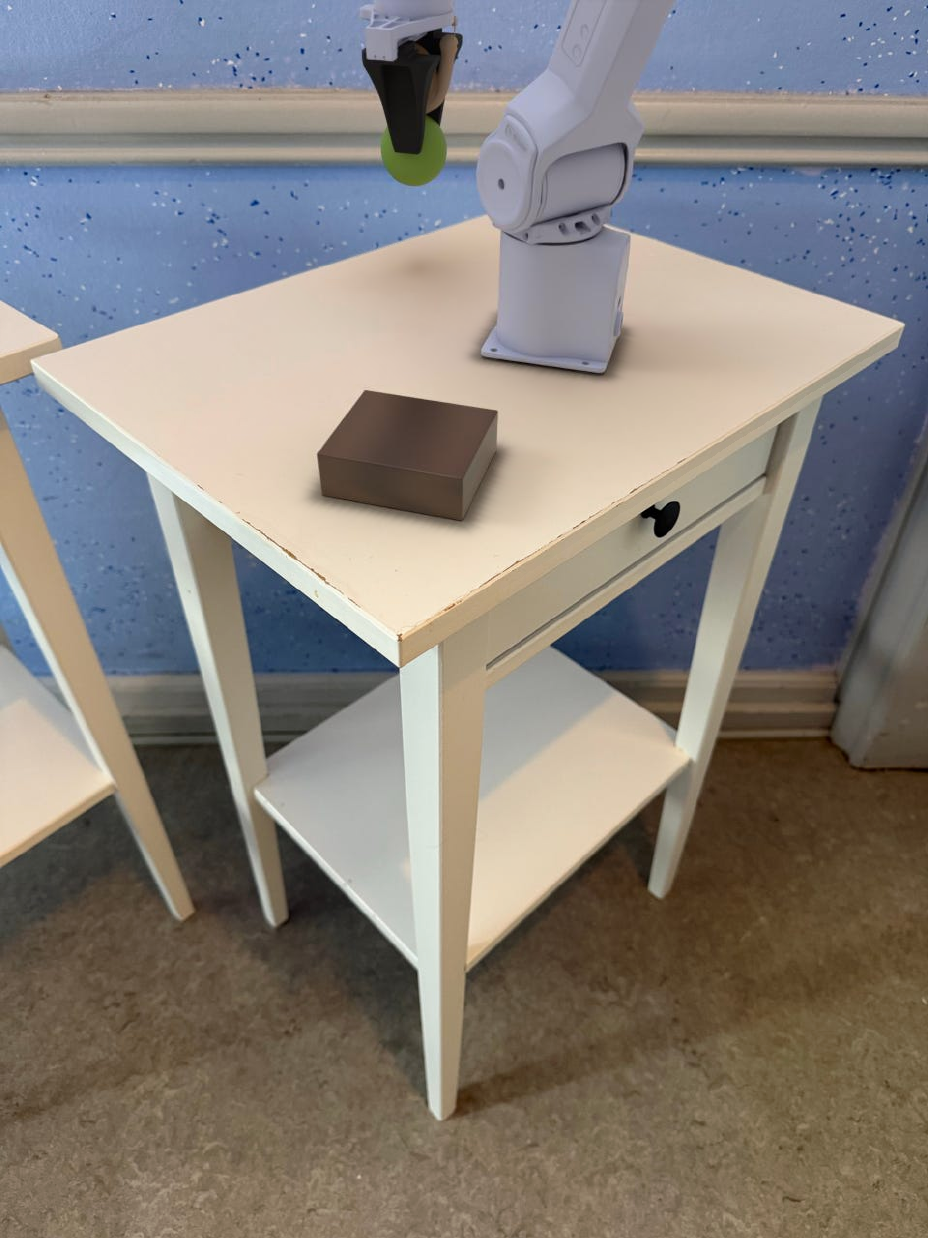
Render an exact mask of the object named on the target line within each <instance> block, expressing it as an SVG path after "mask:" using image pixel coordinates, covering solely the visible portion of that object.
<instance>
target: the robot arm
mask: <svg viewBox="0 0 928 1238" xmlns="http://www.w3.org/2000/svg"><path fill="white" fill-rule="evenodd" d="M675 3H676V0H571V1H570V4H569V6H568V10H567V12H566V14H565V17H564V20H563V23H562V25H561V29H560V31H559V34H558V36H557V39H556V42H555V45H554V48H553V51H552V53H551V56H550V59H549V62H548V65H547V67H546V69H545V70H544V71H543V72H542V73H540V74H539V76H538V77H536V78H535V79H534V80H533V81H532V82H530V83H529V84H528V85H527V86H526V87H525V88H523V90H521V91H520V92H519V93H518V94H517V95H516V96H515V97H514V98H512V99H511V100H510V101H509V102H508V103H507V104H506V106H505V109H504V111H503V114H502V116H501V120H500V122H499V124H498V126H497V127H496V129H495V130H494V131H493V132H491V133H490V134H489V135H488V136H487V137H486V139H484V141H483V144H482V145H481V147H480V150H479V153H478V158H477V164H476V172H475V173H476V175H475V180H476V189H477V194H478V197H479V200H480V203H481V205H482V208H483V210H484V211H485V213H486V215H487V217H489V219H490V221H491V226H493V227H494V228H495V229H498V230H500V235H499V262H498V289H497V313H496V314H497V315H496V317H497V319H496V323H495V326H493V329H492V330H491V332H490V334H489V335H488V337H487V339H486V340H485V342H484V344H483V346H482V347H481V351H480V355H481V356H483V357H486V358H492V359H498V360H506V361H512V362H513V361H514V362H521V363H526V364H534V365H539V366H540V365H541V366H548V367H554V368H562V369H566V370H567V369H569V370H575V371H581V372H589V373H594V374H595V373H596V374H602V373H605V371H606V370H607V367H608V365H609V362H610V360H611V357H612V354H613V351H614V348H615V345H616V344H617V340H618V338H619V337H620V335H621V332H622V327H623V321H624V311H623V307H624V299H625V292H626V286H627V285H626V284H627V277H628V268H629V263H630V253H631V234H629V233H627V232H623V231H618V230H615V229H612V228H610V227H607V226H605V225H607V224H610V222H611V214H612V207H614V206H615V205H617V204H619V202H621V201H622V200H623V198H624V197H625V195H626V194H627V192H628V190H629V187H630V185H631V182H632V178H633V174H634V163H635V155H636V151H637V147H638V145H639V142H640V140H641V139H642V136H643V134H644V132H645V130H646V129H645V128H646V127H645V124H644V121H643V119H642V117H641V114H640V112H639V109H638V107H637V105H636V104H635V103H634V101H633V100H632V96H633V94H634V92H635V89H636V87H637V85H638V83H639V81H640V79H641V76H642V74H643V72H644V70H645V68H646V65H647V64H648V61H649V59H650V57H651V55H652V53H653V50H654V48H655V46H656V44H657V41H658V39H659V38H660V35H661V33H662V31H663V29H664V27H665V24H666V22H667V20H668V18H669V16H670V15H671V11H672V10H673V7H674V5H675ZM454 16H455V0H373V4H371V3H369V4H365V5H363V6H361V7H359V19H360V20H368V21H370V23H369V25H367V26H366V27H364V31H365V32H364V33H365V48H363V49H362V50H361V62H362V67H364V69H365V71H366V73H367V74H368V76H369V77H370V80H371V82H372V84H373V86H374V88H375V91H376V94H377V95H378V98H379V102H380V104H381V107H382V111H383V114H384V119H385V122H386V127H387V126H388V130H389V134H390V138H391V142H392V145H393V149H394V152H396V153H406V154H416V155H417V154H419V153H420V152H421V150H422V146H423V140H424V133H425V121H426V115H427V116H429V117H430V118H432V119H433V120H434V121H435V122H436V123H437V124H438V125H439V127H440V128H441V122H442V119H443V118H442V117H443V112H444V107H445V106H444V105H445V101H446V97H445V98H444V100H443V102H442V103H441V104H440V105H439V106H438V107H437V108H436V109H434V110H432V111H431V112H429V113H427V114H426V109H427V102H428V96H429V91H430V87H431V82H432V79H433V76H434V73H435V70H436V71H437V73H438V68H439V64H440V59H441V50H440V41H441V39H442V37H443V36H444V35H446V34H452V35H454V32H448V31H443V29H444V28H447V27H450V26H452V24H453V23H454ZM455 37H456V38H457V40H458V44H457V52H456V54H455V59H454V64H455V63H456V61H457V58H458V55H459V54H460V51H461V49H462V47H463V42H464V35H463V34H462V33H458V32H455ZM415 43H416V44H418V45H420V46H422V47H423V48H424V49H425V50H426V51H427V52H428V53H429V54H430V55H429V54H419V50H418V49H415Z"/></svg>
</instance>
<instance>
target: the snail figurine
mask: <svg viewBox="0 0 928 1238" xmlns="http://www.w3.org/2000/svg"><path fill="white" fill-rule="evenodd" d="M458 20H459V19H458V17H457V16H456V15H454V23H453V24H452V25H451V27H453V30H454V32H453V33H454V35H452V34H446V35H444V36H443V37H442V39H441V41H440V50H441V59H440V64H439V68H438V73H437V71H436V70H435V73H434V76H433V79H432V82H431V87H430V91H429V96H428V102H427V109H426V114H427V113H429V112H431V111H432V110H434V109H436V108H437V107H438V106H439V105H440V104H441V103H442V102H443V100H444V98H445V99H446V96H447V94H448V92H449V88H450V85H451V81H452V76H453V71H454V67H455V63H454V59H455V54H456V52H457V44H458V40H457V38H456V37H455V33H456V27H457V26H458V22H459V21H458ZM415 49H418V50H419V54H429V53H428V52H427V51H426V50H425V49H424V48H423V47H422V46H420V45H418V44H416V43H415ZM429 55H430V54H429ZM447 155H448V147H447V140H446V137H445V134H444V132H443V130H442V128H441V126H440V127H439V125H438V124H437V123H436V122H435V121H434V120H433V119H432V118H430V117H429V116H427V115H426V121H425V133H424V140H423V146H422V150H421V152H420V153H419V154H417V155H416V154H406V153H396V152H394V149H393V145H392V142H391V138H390V134H389V130H388V126H387V125H386V127H385V128H384V131H383V133H382V136H381V141H380V157H381V160H382V164H383V166H384V168H385V169H386V171H387V173H388V174H389V175H390V176H391V177H392V179H394V180H395V181H397V182H398V183H400V184H402V185H405V186H409V187H421V186H424V185H427V184H429V183H431V182H432V181H434V180H435V179H436V178H437V177H438V176H439V175H440V173H441V172H442V170H443V168H444V166H445V163H446V160H447Z"/></svg>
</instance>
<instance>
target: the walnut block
mask: <svg viewBox="0 0 928 1238" xmlns="http://www.w3.org/2000/svg"><path fill="white" fill-rule="evenodd" d="M498 416H499V411H498V410H497V409H491V408H490V409H489V408H483V407H478V406H472V405H471V406H470V405H465V404H459V403H452V402H445V401H440V400H433V399H428V398H427V399H425V398H421V397H413V396H409V395H402V394H394V393H388V392H381V391H374V390H369V389H364V390H363V392H362V393H361V394H360V396H358V399H356V401H355V402H354V403H353V405H352V406H351V408H350V409H349V410H348V411H347V413H346V414H345V416H344V417H343V418H342V419H341V421H340V422H339V424H338V425H337V426H336V428H335V429H334V430H333V432H332V433H331V434H330V435H329V437H328V438H327V440H325V442H324V443H323V445H322V446H321V447H320V449H319V450H318V451H317V453H316V458H317V467H318V473H319V474H318V476H319V483H320V492H321V495H322V496H326V497H332V498H335V499H343V500H347V501H348V500H349V501H353V502H358V503H365V504H370V505H375V506H380V507H386V508H391V509H396V510H403V511H406V512H407V511H408V512H413V513H418V514H425V515H429V516H434V517H440V518H445V519H446V518H447V519H451V520H457V521H463V520H464V518H465V515H466V513H467V512H468V510H469V507H470V506H471V503H472V501H473V499H474V497H475V495H476V493H477V491H478V489H479V487H480V485H481V482H482V481H483V478H484V477H485V474H486V472H487V470H488V469H489V466H490V465H491V462H492V460H493V458H494V456H495V455H496V452H497V445H498V422H499V421H498V418H499V417H498Z"/></svg>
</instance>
